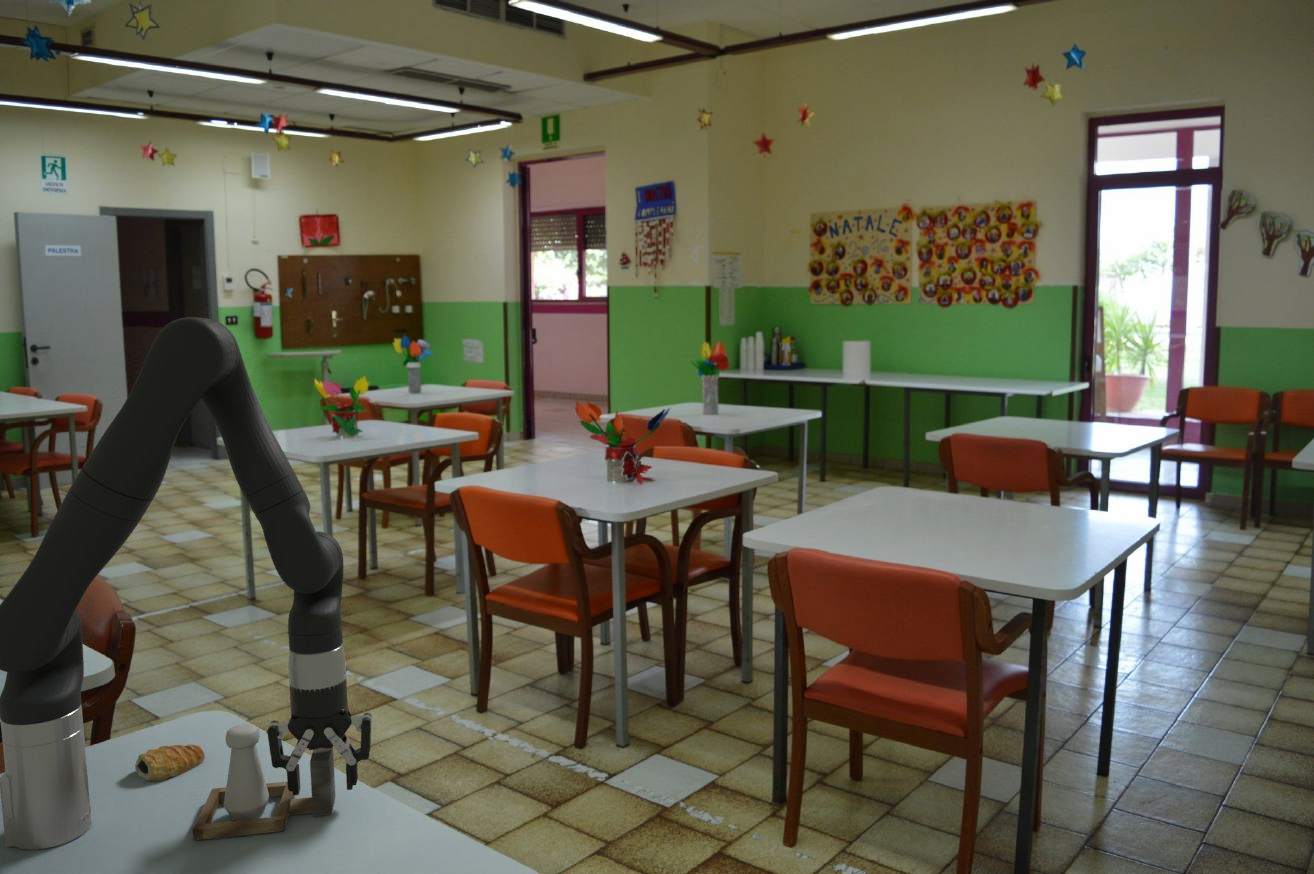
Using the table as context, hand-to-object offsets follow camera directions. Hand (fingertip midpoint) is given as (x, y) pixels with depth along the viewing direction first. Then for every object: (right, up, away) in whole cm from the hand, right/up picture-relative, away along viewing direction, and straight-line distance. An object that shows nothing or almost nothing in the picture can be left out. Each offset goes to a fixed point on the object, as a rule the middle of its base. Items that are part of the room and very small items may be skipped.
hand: (323, 789), depth 141 cm
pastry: (-28, -2, +12) cm, 31 cm away
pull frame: (-7, -3, -1) cm, 8 cm away
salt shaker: (-10, -3, -2) cm, 11 cm away
